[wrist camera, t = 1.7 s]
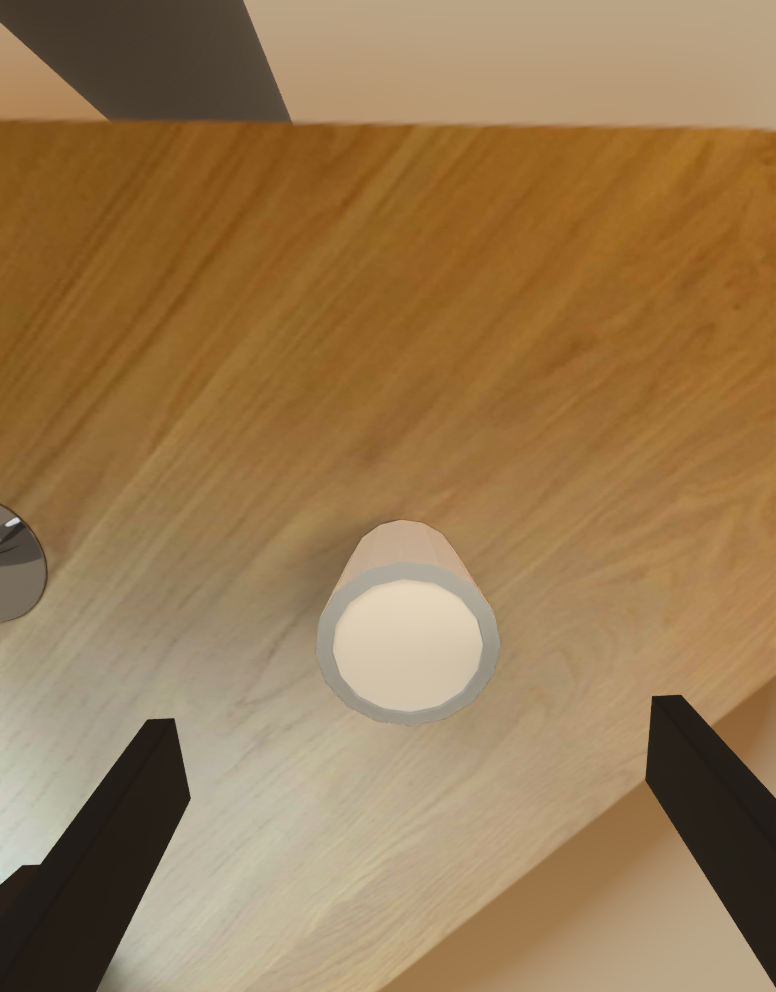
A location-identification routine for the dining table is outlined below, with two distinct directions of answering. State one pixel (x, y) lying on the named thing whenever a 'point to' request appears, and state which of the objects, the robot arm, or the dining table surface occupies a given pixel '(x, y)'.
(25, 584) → the wine glass
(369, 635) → the shot glass
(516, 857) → the dining table surface
